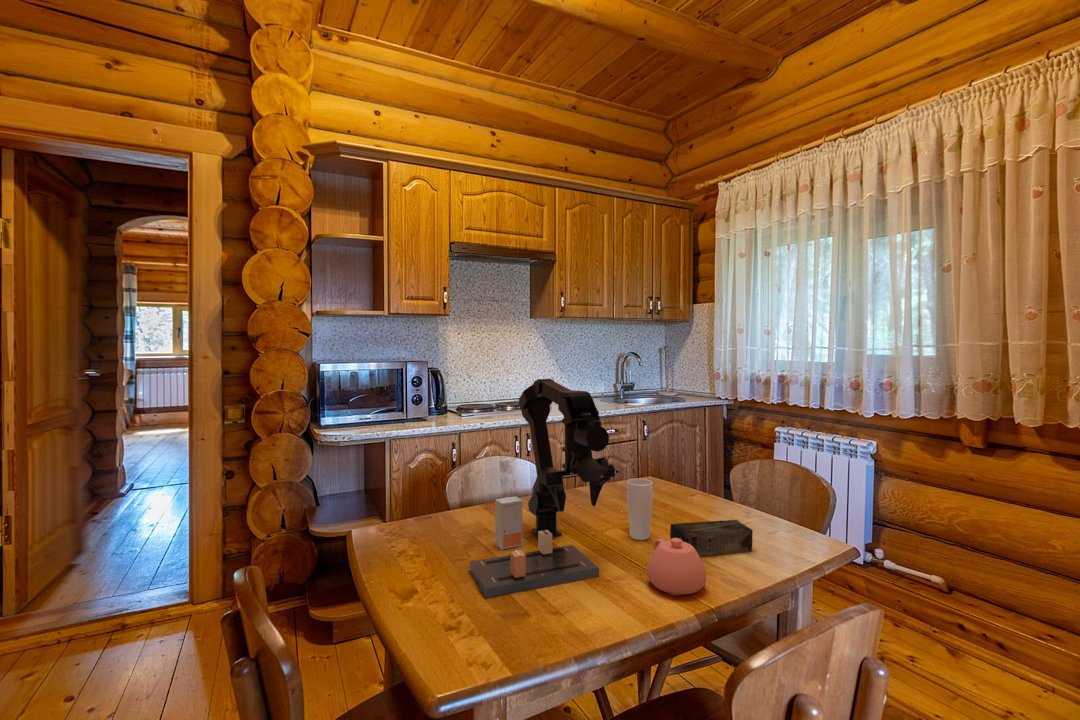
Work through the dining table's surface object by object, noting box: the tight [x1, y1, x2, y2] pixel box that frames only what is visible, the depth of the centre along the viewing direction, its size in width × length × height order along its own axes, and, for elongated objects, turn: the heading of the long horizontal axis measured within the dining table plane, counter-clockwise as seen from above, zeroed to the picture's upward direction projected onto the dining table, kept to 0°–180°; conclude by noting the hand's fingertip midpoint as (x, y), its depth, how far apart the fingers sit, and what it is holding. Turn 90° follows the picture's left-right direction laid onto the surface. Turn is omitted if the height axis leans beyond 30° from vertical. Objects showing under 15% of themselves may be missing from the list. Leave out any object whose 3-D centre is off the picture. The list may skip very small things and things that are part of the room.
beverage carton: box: [669, 519, 754, 558], centre depth 131 cm, size 8×19×7 cm, turn 102°
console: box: [468, 544, 600, 599], centre depth 118 cm, size 14×26×2 cm, turn 112°
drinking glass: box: [626, 478, 654, 541], centre depth 139 cm, size 7×7×15 cm
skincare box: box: [494, 495, 523, 551], centre depth 134 cm, size 6×4×12 cm
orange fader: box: [509, 549, 526, 578], centre depth 112 cm, size 3×2×5 cm
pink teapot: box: [646, 538, 707, 597], centre depth 112 cm, size 12×14×10 cm
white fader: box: [537, 530, 553, 554], centre depth 124 cm, size 3×2×5 cm
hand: (577, 508), depth 126 cm, fingers open, 9 cm apart
